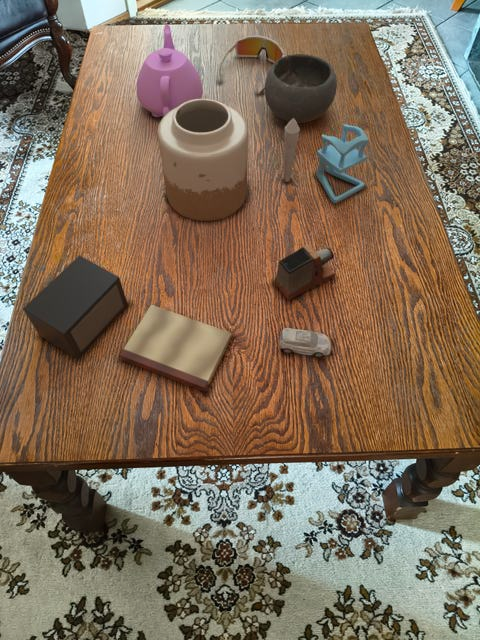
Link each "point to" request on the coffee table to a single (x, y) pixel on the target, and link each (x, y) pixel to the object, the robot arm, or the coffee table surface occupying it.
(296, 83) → the bowl
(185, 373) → the notebook
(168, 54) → the teapot
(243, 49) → the sunglasses
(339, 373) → the coffee table surface
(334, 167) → the blue-grey angular frame piece
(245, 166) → the vase
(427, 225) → the coffee table surface
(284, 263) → the electronic device
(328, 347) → the toy car
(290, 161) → the grey pointed post
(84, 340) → the block
